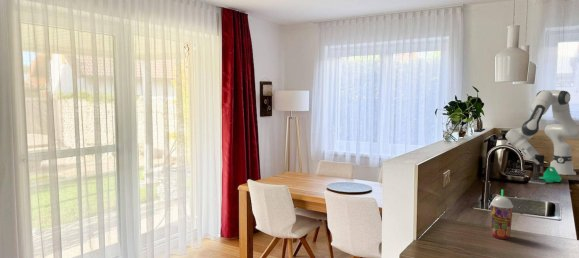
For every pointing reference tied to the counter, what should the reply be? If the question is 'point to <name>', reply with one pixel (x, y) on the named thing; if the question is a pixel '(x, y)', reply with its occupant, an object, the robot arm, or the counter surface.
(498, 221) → the smoothie
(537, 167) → the deodorant
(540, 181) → the mount plate
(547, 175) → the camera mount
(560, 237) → the counter surface
